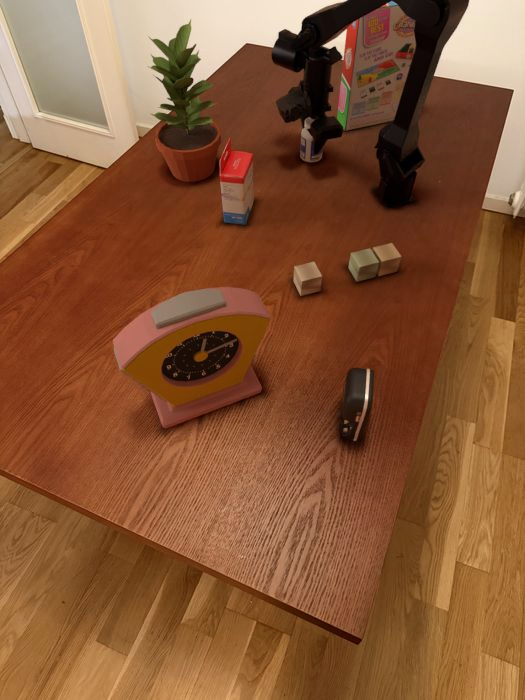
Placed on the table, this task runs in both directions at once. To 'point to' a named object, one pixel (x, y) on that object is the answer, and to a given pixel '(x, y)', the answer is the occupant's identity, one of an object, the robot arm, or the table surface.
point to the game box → (375, 67)
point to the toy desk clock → (195, 351)
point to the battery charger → (356, 402)
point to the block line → (351, 267)
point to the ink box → (236, 185)
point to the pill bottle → (308, 144)
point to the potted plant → (185, 113)
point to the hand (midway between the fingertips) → (311, 146)
